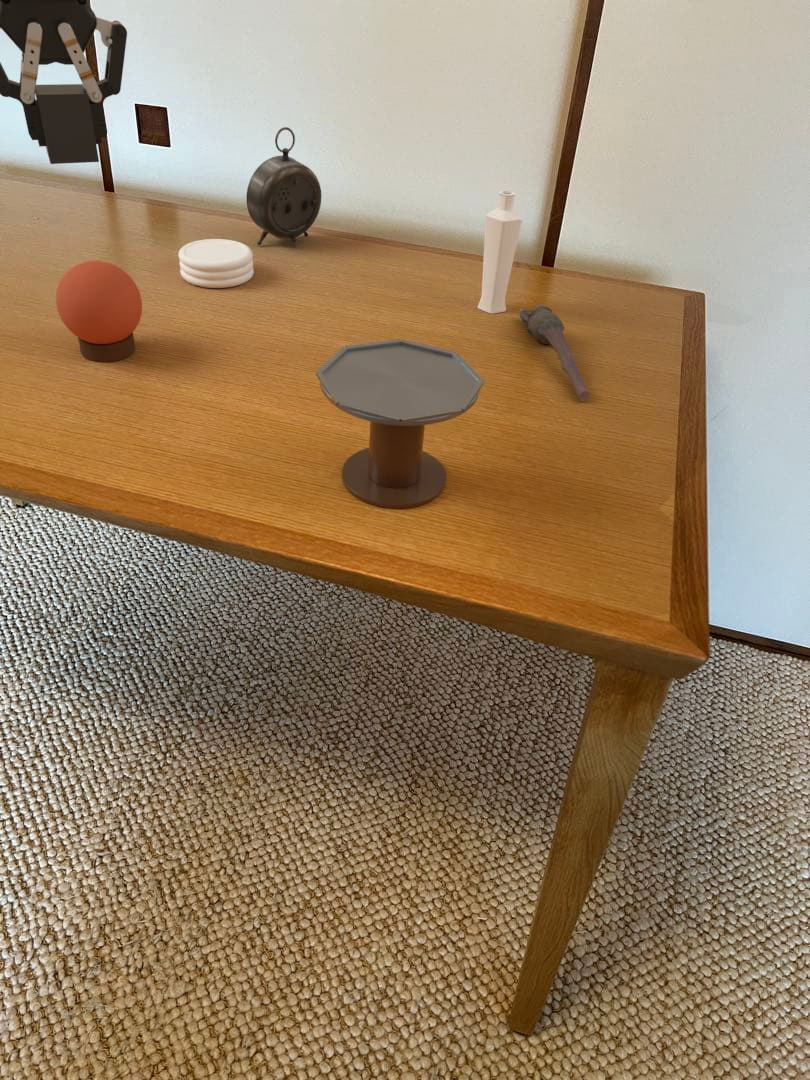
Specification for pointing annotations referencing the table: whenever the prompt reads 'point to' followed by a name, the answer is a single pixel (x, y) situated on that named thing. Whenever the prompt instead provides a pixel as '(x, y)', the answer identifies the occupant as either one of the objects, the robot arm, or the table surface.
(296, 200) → the alarm clock
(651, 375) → the table surface
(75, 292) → the ball
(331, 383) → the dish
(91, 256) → the table surface
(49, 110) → the block
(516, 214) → the perfume bottle
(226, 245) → the coaster
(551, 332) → the natural artifact
